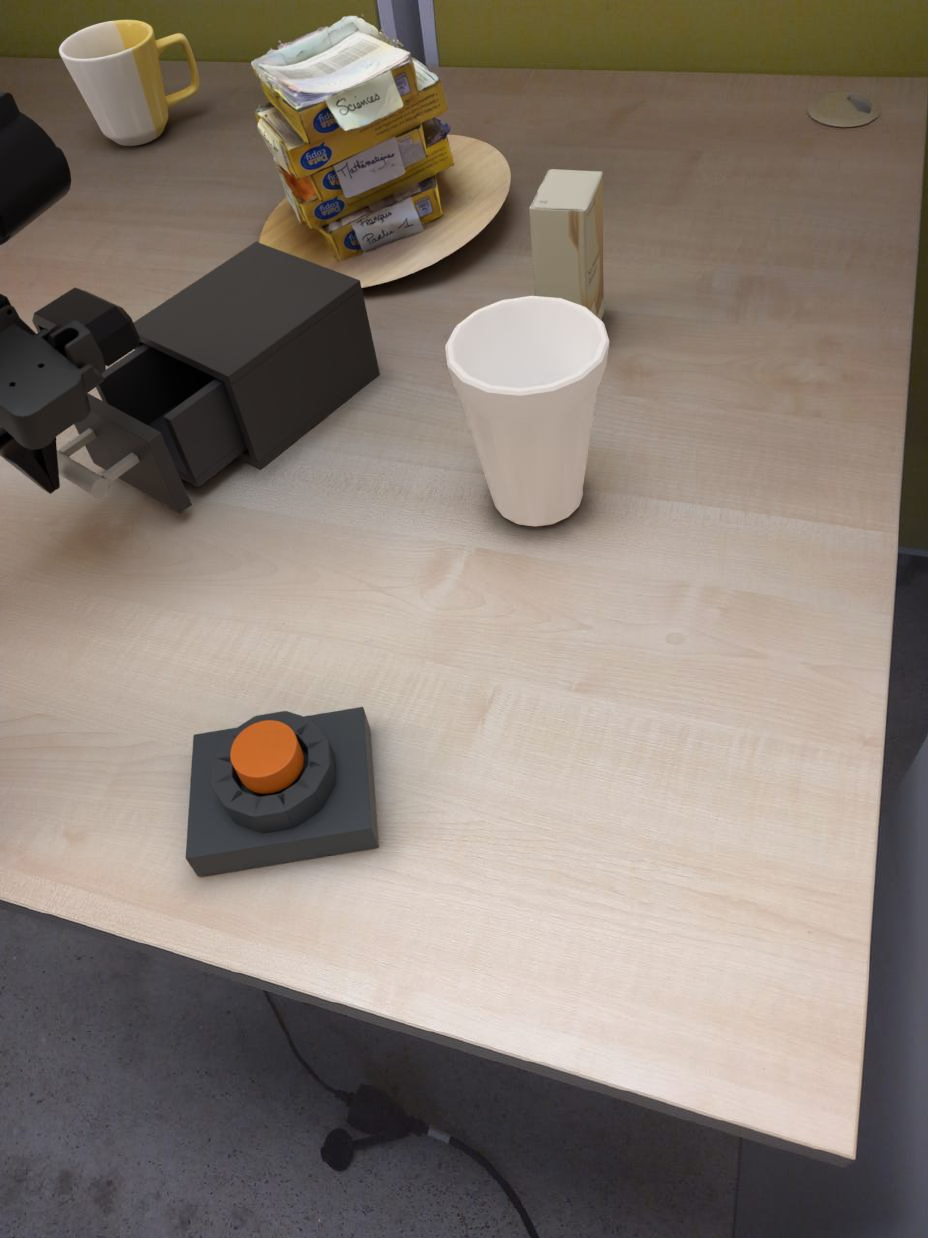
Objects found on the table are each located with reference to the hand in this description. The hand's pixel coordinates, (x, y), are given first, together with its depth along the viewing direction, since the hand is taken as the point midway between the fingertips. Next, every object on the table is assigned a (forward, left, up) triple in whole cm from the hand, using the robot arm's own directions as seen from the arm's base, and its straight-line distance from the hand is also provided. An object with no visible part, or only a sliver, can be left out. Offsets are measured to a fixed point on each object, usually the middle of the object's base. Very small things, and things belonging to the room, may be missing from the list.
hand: (51, 488), depth 70 cm
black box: (+14, +13, -5) cm, 20 cm away
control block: (+15, -25, -5) cm, 29 cm away
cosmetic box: (+39, +15, -5) cm, 42 cm away
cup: (+33, -4, -5) cm, 34 cm away
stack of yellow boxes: (+25, +37, -5) cm, 45 cm away
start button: (+15, -25, -2) cm, 29 cm away
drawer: (+7, +7, -4) cm, 11 cm away
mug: (0, +67, -5) cm, 68 cm away
